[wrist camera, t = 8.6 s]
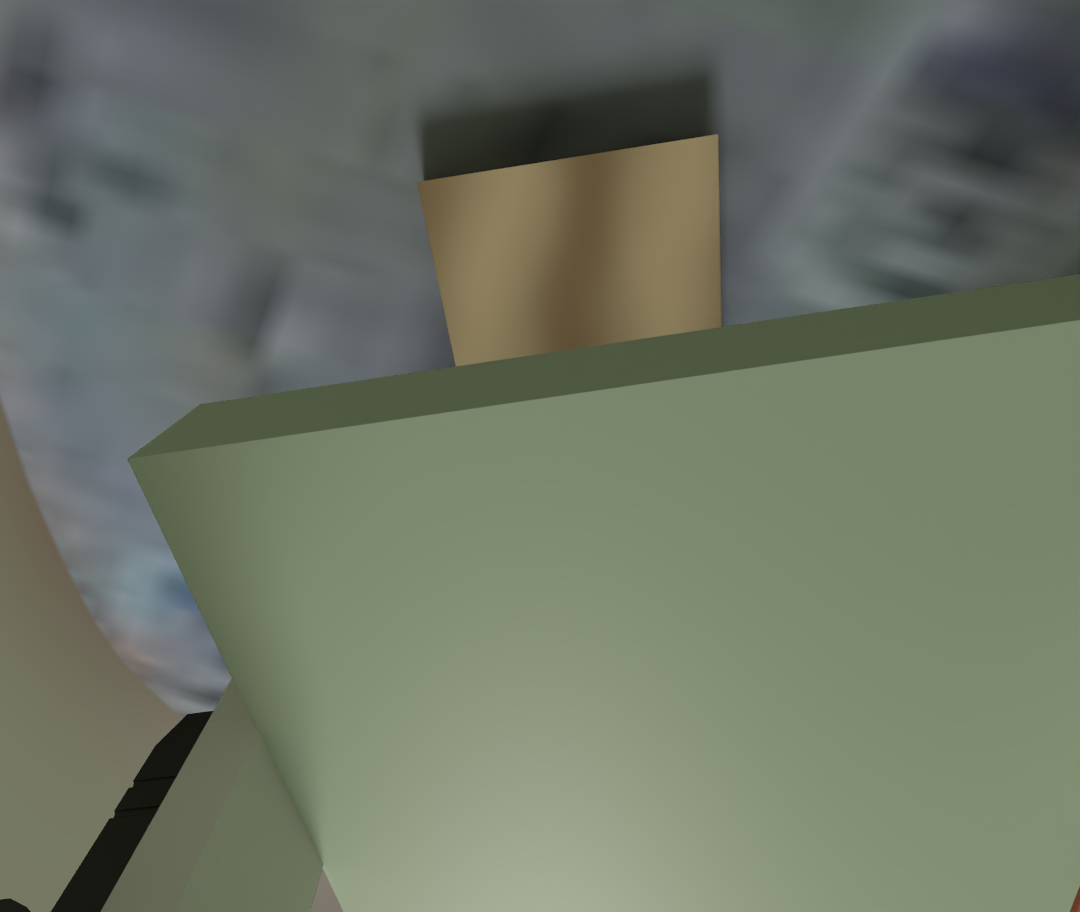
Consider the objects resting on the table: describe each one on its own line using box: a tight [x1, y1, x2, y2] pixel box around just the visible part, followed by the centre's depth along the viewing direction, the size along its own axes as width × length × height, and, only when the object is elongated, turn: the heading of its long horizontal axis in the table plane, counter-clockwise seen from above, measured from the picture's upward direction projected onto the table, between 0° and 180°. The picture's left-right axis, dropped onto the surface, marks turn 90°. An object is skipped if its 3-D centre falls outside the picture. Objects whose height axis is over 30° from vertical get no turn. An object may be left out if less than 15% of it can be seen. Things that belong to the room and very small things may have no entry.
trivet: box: [417, 134, 722, 366], centre depth 24 cm, size 10×14×2 cm
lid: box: [128, 274, 1080, 912], centre depth 9 cm, size 11×10×3 cm
